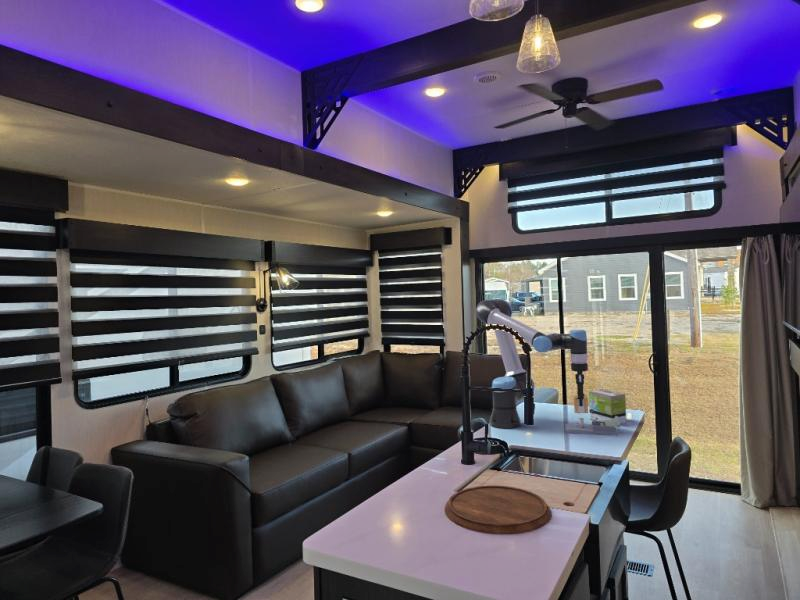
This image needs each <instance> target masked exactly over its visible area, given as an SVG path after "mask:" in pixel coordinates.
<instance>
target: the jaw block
mask: <svg viewBox="0 0 800 600" xmlns="http://www.w3.org/2000/svg"><path fill="white" fill-rule="evenodd" d="M576 398H578V395H573V403H574V404H573V405H574V406H573V407H574V408H573V410H574V413H575V414H579V413H578V399H576ZM583 414H589V397H588V395H585V396H584V413H583Z"/></svg>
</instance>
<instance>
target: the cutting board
mask: <svg viewBox="0 0 800 600" xmlns="http://www.w3.org/2000/svg"><path fill="white" fill-rule="evenodd" d="M444 514H445V516H446V517H447V518H448V519H449V521H451V522H452V523H454V524H455V525H457V526H459V527H461V528H463V529H465V530H466V529H467V530H469V531H473V532H478V533H483V534H491V535H492V534H493V535H515V534H523V533H527V532H532V531H535V530H537V529H540V528H542V527H544V526H545V525H547V524H548V522H550V520H551V518H552V511H551V508H550V506H549V505H548V503H547V502H546V500H545V499H544V498H542V497H541V496H540V495H538V494H536V493H535V492H532V491H529V490H526V489H523V488H519V487H513V486H507V485H478V486H472V487H469V488H467V487H466V488H464V489H462V490H459V491H457V492H455V493H453V494H452V495H451V496H450V497H449V499H448V500H447V502H446V503H445V505H444Z"/></svg>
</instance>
